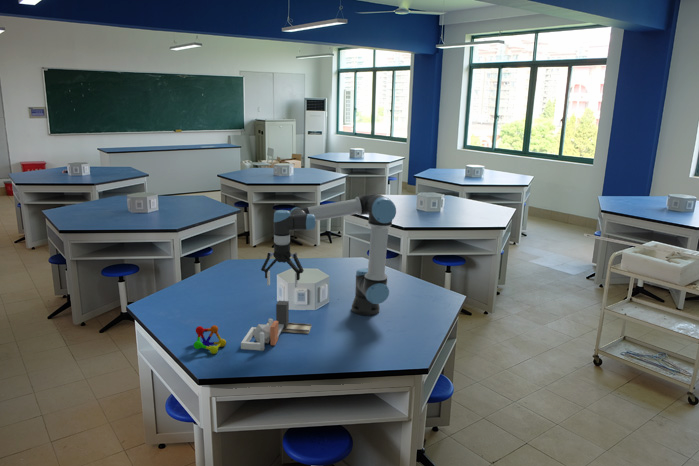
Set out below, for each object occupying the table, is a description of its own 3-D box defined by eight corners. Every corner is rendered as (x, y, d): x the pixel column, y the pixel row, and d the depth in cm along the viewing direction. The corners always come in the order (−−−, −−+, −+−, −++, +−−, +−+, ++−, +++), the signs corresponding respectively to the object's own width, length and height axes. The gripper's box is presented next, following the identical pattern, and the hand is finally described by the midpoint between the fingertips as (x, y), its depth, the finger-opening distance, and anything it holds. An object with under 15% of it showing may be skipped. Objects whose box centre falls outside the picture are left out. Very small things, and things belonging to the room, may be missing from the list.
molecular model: (224, 348, 239) (195, 333, 238) (233, 331, 237) (203, 316, 236) (214, 364, 225) (183, 348, 224) (223, 346, 222) (191, 330, 221)
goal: (273, 334, 248) (273, 318, 246) (263, 350, 231) (263, 334, 229) (252, 332, 249) (251, 317, 247) (240, 349, 232) (240, 332, 230)
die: (262, 349, 233) (275, 330, 234) (246, 337, 234) (259, 319, 235) (266, 347, 242) (279, 329, 243) (251, 336, 243) (263, 318, 244)
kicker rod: (288, 325, 256) (288, 301, 253) (278, 345, 235) (277, 319, 232) (278, 325, 257) (278, 300, 254) (267, 344, 236) (267, 318, 232)
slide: (311, 326, 257) (311, 323, 256) (308, 333, 249) (308, 330, 249) (268, 323, 259) (268, 320, 259) (264, 330, 251) (263, 327, 251)
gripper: (309, 242, 246) (309, 284, 251) (258, 239, 248) (259, 281, 254) (306, 246, 239) (306, 289, 244) (254, 243, 241) (255, 286, 246)
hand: (282, 285), depth 249 cm, fingers open, 13 cm apart
